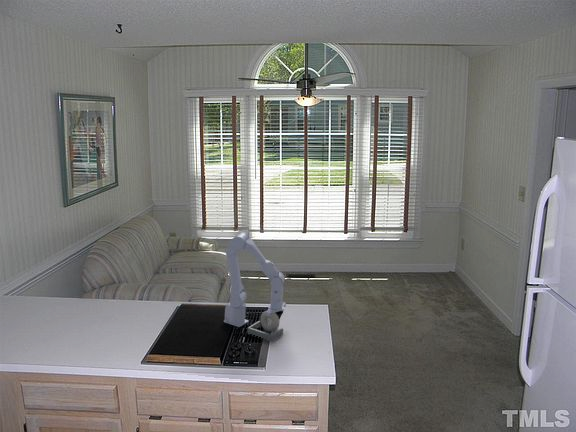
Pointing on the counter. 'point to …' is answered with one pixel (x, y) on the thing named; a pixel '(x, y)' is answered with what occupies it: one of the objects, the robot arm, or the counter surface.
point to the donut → (266, 325)
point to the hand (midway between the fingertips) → (275, 325)
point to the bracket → (264, 335)
